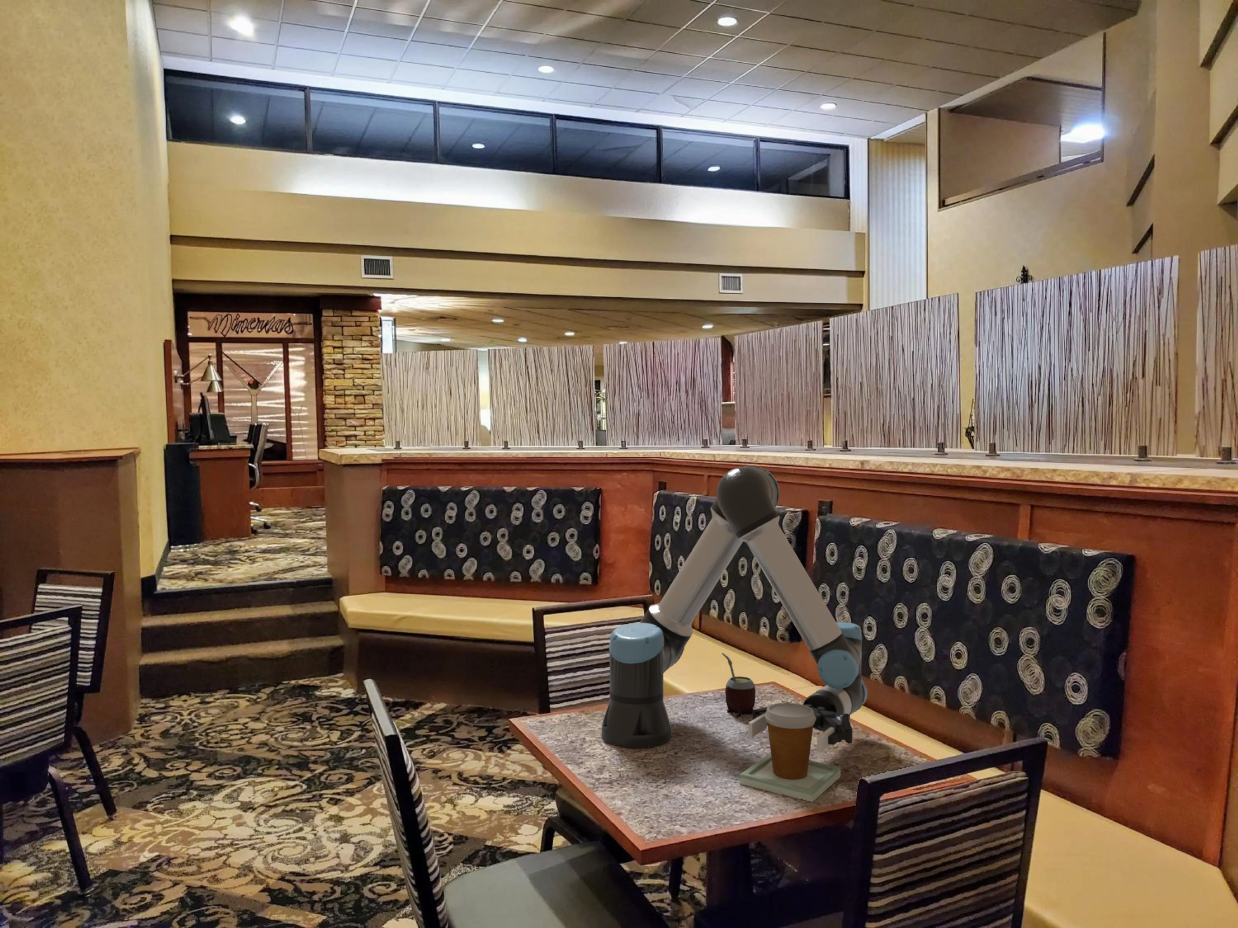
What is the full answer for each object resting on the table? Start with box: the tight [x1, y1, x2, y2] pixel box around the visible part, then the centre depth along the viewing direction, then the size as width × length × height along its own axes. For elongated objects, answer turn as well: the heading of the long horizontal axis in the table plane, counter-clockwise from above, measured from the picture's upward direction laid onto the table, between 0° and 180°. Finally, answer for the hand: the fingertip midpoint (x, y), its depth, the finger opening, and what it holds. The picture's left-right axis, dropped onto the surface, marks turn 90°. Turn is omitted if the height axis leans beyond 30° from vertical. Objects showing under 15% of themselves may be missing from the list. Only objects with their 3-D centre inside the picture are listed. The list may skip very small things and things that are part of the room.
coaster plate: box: [739, 752, 841, 803], centre depth 154 cm, size 14×14×2 cm
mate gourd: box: [721, 653, 756, 718], centre depth 194 cm, size 8×8×15 cm
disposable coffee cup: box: [764, 702, 816, 780], centre depth 154 cm, size 10×10×12 cm
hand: (783, 737), depth 151 cm, fingers open, 13 cm apart
